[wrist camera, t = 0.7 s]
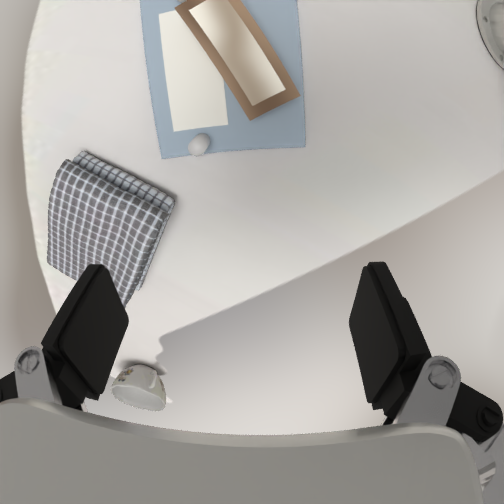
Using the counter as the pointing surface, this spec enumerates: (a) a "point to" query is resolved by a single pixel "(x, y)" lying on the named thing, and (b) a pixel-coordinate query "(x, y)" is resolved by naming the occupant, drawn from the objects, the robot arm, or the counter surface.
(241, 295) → the counter surface
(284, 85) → the frame
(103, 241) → the towel
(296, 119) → the panel
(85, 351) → the robot arm
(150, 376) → the teacup
